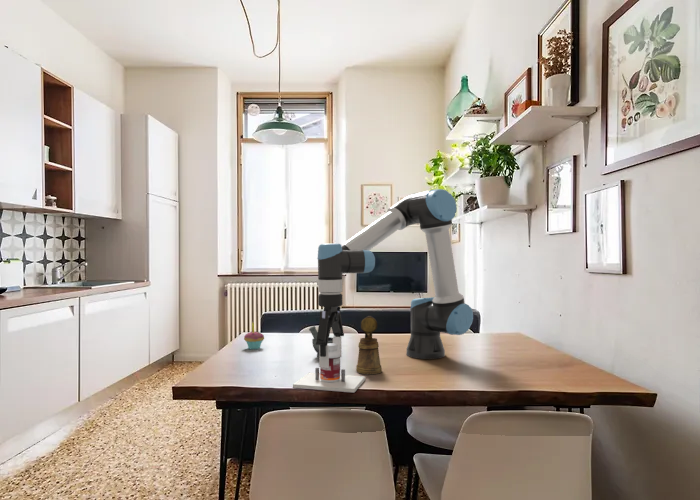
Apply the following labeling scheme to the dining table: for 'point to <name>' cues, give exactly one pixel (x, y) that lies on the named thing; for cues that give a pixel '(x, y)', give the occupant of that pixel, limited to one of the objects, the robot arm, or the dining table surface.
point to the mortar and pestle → (314, 333)
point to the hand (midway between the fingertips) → (330, 361)
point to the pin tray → (343, 385)
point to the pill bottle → (331, 365)
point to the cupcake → (254, 339)
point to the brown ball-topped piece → (368, 349)
